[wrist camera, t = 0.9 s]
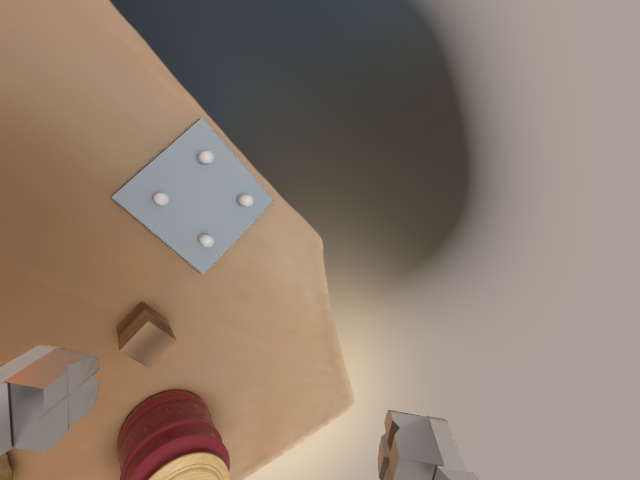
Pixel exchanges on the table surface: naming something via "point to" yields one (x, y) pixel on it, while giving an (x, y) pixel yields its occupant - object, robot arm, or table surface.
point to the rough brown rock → (5, 468)
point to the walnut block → (145, 335)
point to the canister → (172, 441)
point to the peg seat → (195, 196)
